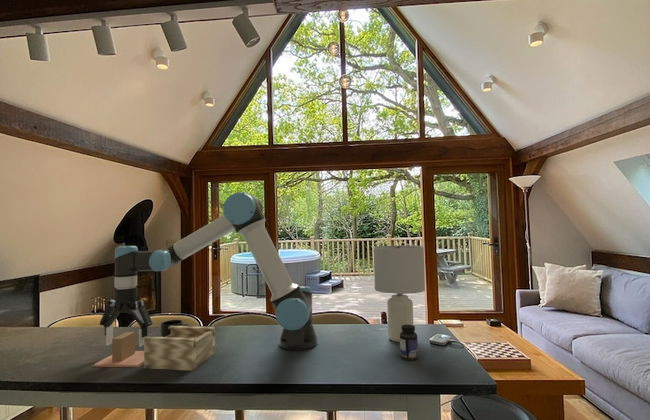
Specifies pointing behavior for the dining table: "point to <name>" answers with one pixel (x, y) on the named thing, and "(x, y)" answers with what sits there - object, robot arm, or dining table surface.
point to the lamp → (399, 282)
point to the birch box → (180, 348)
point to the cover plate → (125, 363)
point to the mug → (166, 324)
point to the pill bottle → (408, 343)
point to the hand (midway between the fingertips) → (125, 345)
